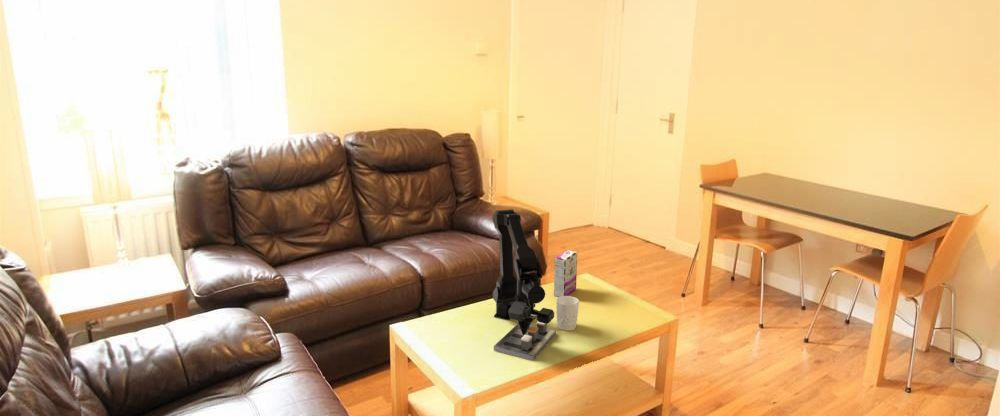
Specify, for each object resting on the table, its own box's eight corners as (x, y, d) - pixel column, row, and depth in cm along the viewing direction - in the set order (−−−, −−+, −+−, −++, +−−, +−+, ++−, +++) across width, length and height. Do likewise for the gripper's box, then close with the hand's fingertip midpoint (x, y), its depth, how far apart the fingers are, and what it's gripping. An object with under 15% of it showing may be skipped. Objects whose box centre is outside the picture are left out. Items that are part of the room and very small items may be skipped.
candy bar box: (565, 287, 248) (566, 249, 244) (576, 289, 246) (578, 251, 242) (552, 296, 239) (554, 257, 235) (564, 299, 237) (565, 259, 232)
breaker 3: (536, 332, 205) (536, 322, 204) (540, 328, 207) (540, 318, 207) (543, 333, 204) (543, 324, 203) (546, 330, 206) (547, 320, 205)
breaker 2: (527, 339, 199) (527, 329, 198) (531, 335, 202) (531, 326, 201) (534, 341, 198) (534, 331, 197) (538, 337, 201) (538, 327, 200)
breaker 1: (520, 348, 193) (521, 338, 193) (524, 344, 196) (525, 334, 195) (527, 350, 192) (528, 340, 191) (531, 346, 195) (532, 336, 194)
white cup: (576, 332, 209) (578, 306, 206) (554, 330, 211) (555, 303, 208) (578, 322, 216) (579, 296, 214) (556, 320, 218) (557, 294, 215)
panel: (493, 350, 196) (493, 346, 196) (519, 326, 213) (519, 321, 213) (533, 360, 190) (533, 356, 190) (556, 334, 207) (556, 330, 207)
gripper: (488, 294, 194) (488, 338, 198) (542, 305, 186) (541, 351, 190) (504, 282, 204) (503, 325, 208) (555, 293, 196) (554, 337, 200)
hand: (524, 334), depth 201 cm, fingers closed
